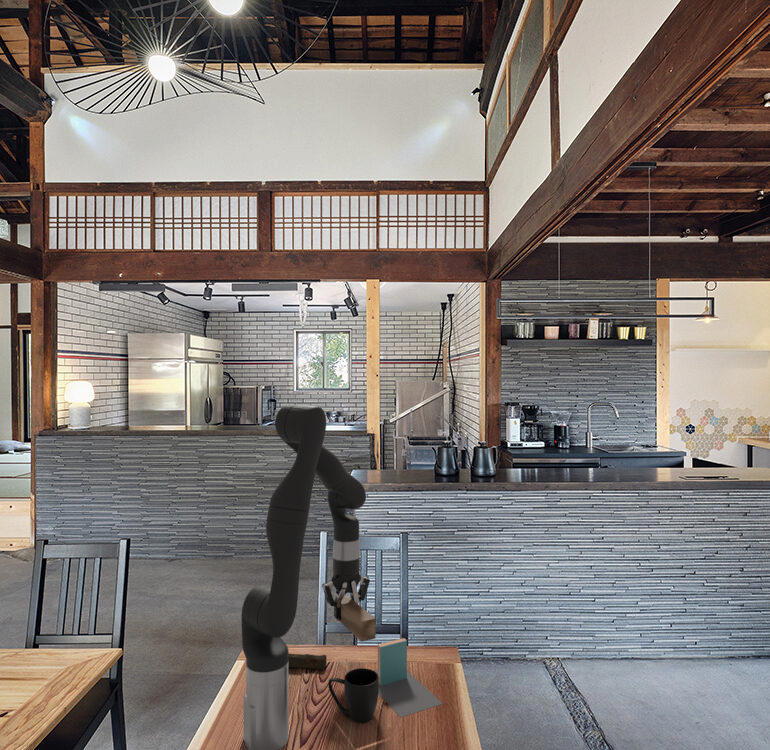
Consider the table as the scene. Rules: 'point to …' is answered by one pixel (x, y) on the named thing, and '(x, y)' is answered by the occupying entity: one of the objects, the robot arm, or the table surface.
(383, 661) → the tile
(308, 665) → the hand tool
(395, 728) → the table surface
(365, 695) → the mug
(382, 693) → the rubber mat
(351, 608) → the tan wooden bar
